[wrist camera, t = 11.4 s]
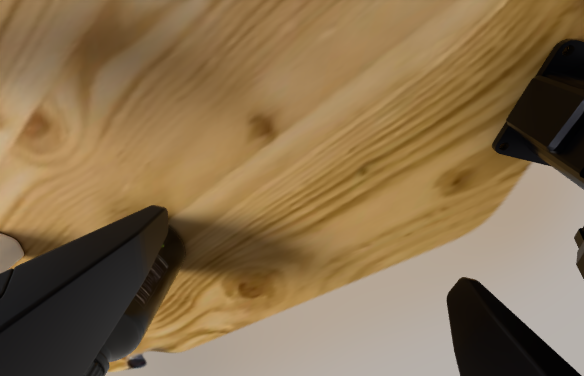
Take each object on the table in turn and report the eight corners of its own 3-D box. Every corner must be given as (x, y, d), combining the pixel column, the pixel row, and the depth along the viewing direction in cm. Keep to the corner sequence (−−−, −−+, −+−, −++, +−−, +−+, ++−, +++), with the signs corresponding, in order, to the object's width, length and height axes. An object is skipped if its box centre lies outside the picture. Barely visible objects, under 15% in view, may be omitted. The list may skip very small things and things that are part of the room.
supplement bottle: (169, 278, 29) (84, 423, 19) (105, 243, 27) (-26, 381, 17) (202, 242, 26) (121, 393, 16) (132, 199, 24) (-9, 338, 14)
